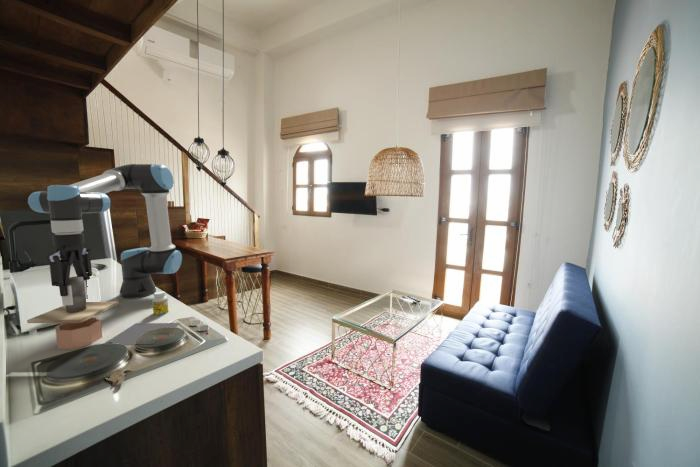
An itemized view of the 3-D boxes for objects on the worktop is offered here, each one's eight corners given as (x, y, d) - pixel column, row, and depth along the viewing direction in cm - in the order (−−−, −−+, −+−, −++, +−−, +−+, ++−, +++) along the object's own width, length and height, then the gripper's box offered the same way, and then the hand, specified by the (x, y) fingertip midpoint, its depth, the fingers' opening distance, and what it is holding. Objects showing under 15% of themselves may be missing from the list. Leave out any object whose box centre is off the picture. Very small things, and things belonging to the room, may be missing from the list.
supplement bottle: (171, 312, 128) (169, 290, 127) (162, 317, 123) (161, 295, 122) (159, 311, 128) (157, 290, 127) (150, 316, 123) (148, 294, 122)
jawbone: (91, 389, 79) (90, 381, 79) (155, 350, 99) (154, 345, 99) (119, 390, 77) (118, 383, 77) (178, 351, 97) (178, 345, 97)
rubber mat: (135, 325, 115) (135, 323, 115) (180, 324, 116) (180, 323, 116) (101, 347, 98) (100, 345, 98) (153, 347, 99) (153, 344, 99)
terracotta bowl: (78, 335, 107) (75, 316, 106) (109, 335, 107) (107, 316, 106) (48, 351, 96) (45, 331, 95) (83, 351, 96) (81, 330, 95)
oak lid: (73, 304, 107) (69, 272, 106) (118, 304, 108) (115, 272, 107) (27, 323, 92) (22, 285, 90) (81, 322, 92) (76, 285, 91)
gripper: (80, 229, 105) (86, 293, 108) (27, 236, 87) (36, 312, 90) (101, 230, 105) (107, 293, 108) (53, 236, 88) (62, 312, 90)
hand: (75, 301), depth 99 cm, fingers closed on oak lid, 5 cm apart
